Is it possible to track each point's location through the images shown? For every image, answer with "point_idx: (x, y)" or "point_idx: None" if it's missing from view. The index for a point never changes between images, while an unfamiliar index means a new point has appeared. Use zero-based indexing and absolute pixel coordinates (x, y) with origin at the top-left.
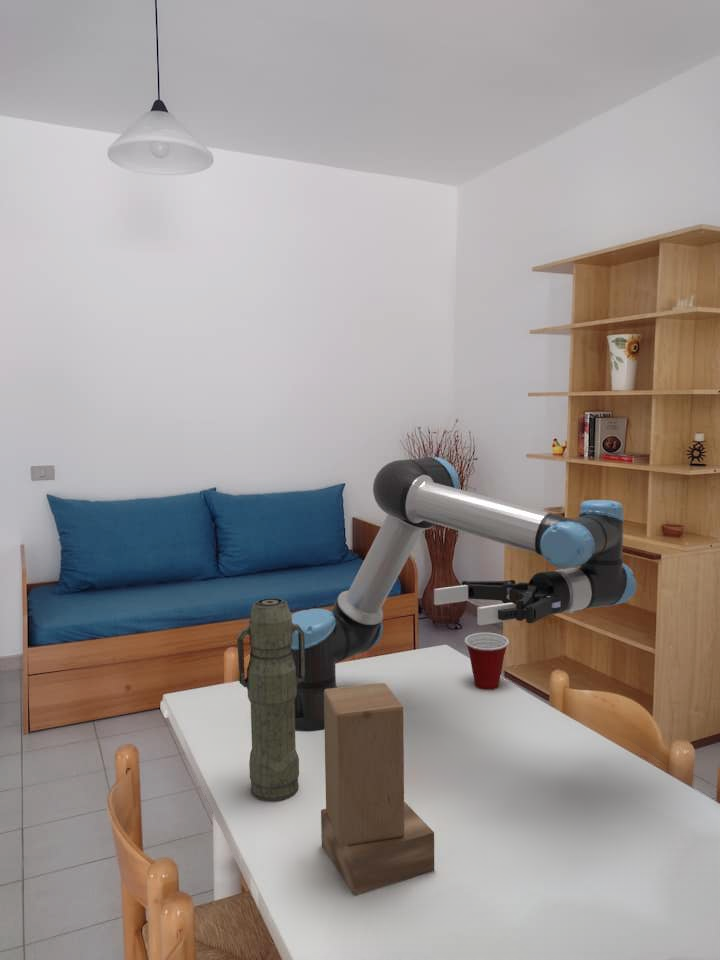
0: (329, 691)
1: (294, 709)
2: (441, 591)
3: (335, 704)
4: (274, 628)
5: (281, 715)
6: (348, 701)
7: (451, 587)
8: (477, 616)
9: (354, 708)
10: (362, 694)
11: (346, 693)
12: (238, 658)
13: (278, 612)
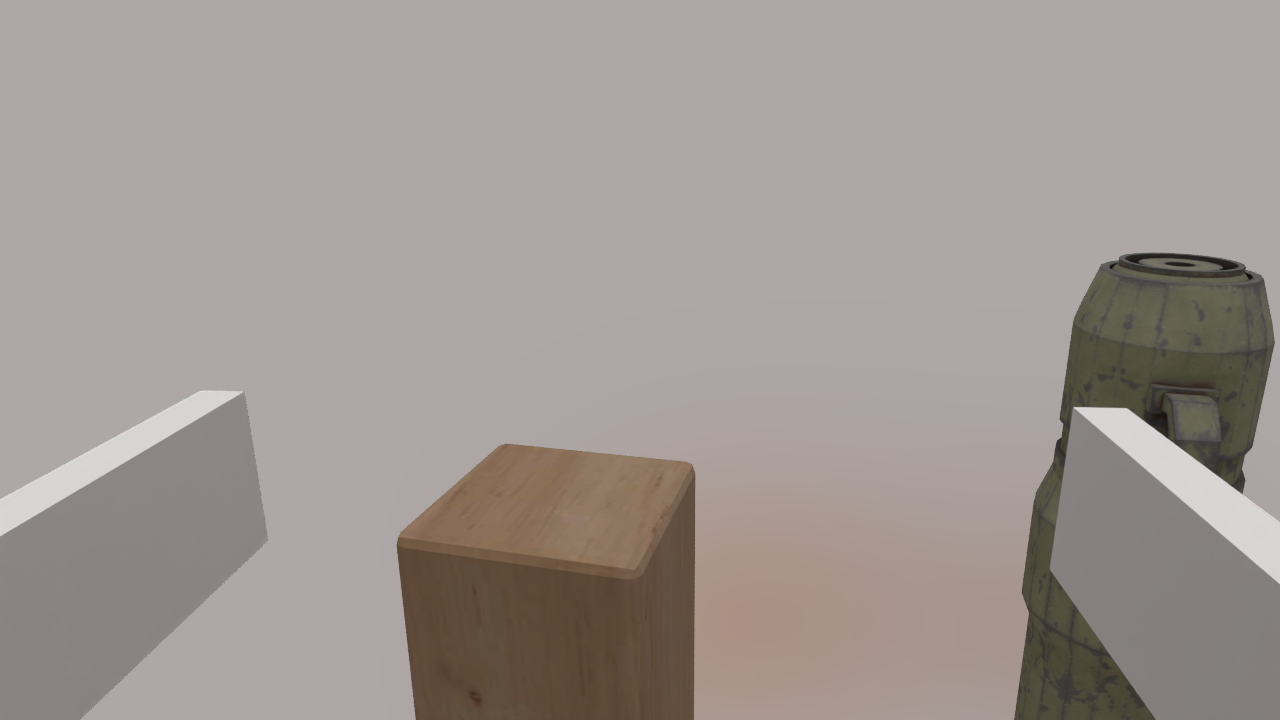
0: (658, 460)
1: (1116, 707)
2: (1099, 461)
3: (557, 449)
4: (1075, 344)
5: (1034, 651)
6: (551, 467)
7: (1216, 508)
8: (257, 474)
9: (495, 464)
10: (574, 497)
11: (614, 478)
12: None
13: (1103, 293)
